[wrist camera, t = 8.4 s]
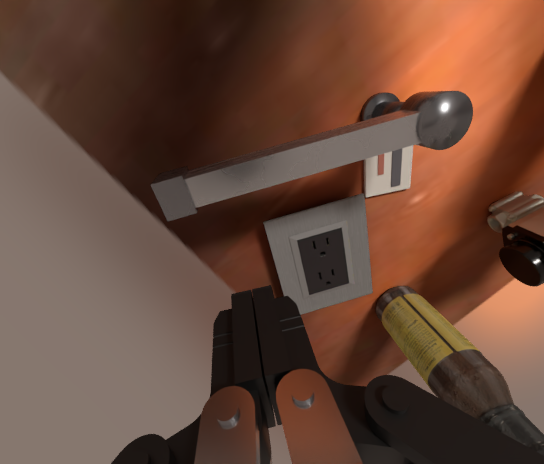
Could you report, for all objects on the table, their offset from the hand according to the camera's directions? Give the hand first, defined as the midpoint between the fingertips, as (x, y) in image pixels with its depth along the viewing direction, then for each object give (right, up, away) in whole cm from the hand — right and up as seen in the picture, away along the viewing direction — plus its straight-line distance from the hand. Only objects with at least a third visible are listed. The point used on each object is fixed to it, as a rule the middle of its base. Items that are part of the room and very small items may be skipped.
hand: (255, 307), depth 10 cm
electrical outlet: (+6, +1, +22) cm, 23 cm away
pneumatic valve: (+28, +6, +23) cm, 37 cm away
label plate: (+12, +10, +18) cm, 24 cm away
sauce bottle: (+17, -7, +27) cm, 33 cm away
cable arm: (+3, +9, +10) cm, 14 cm away
